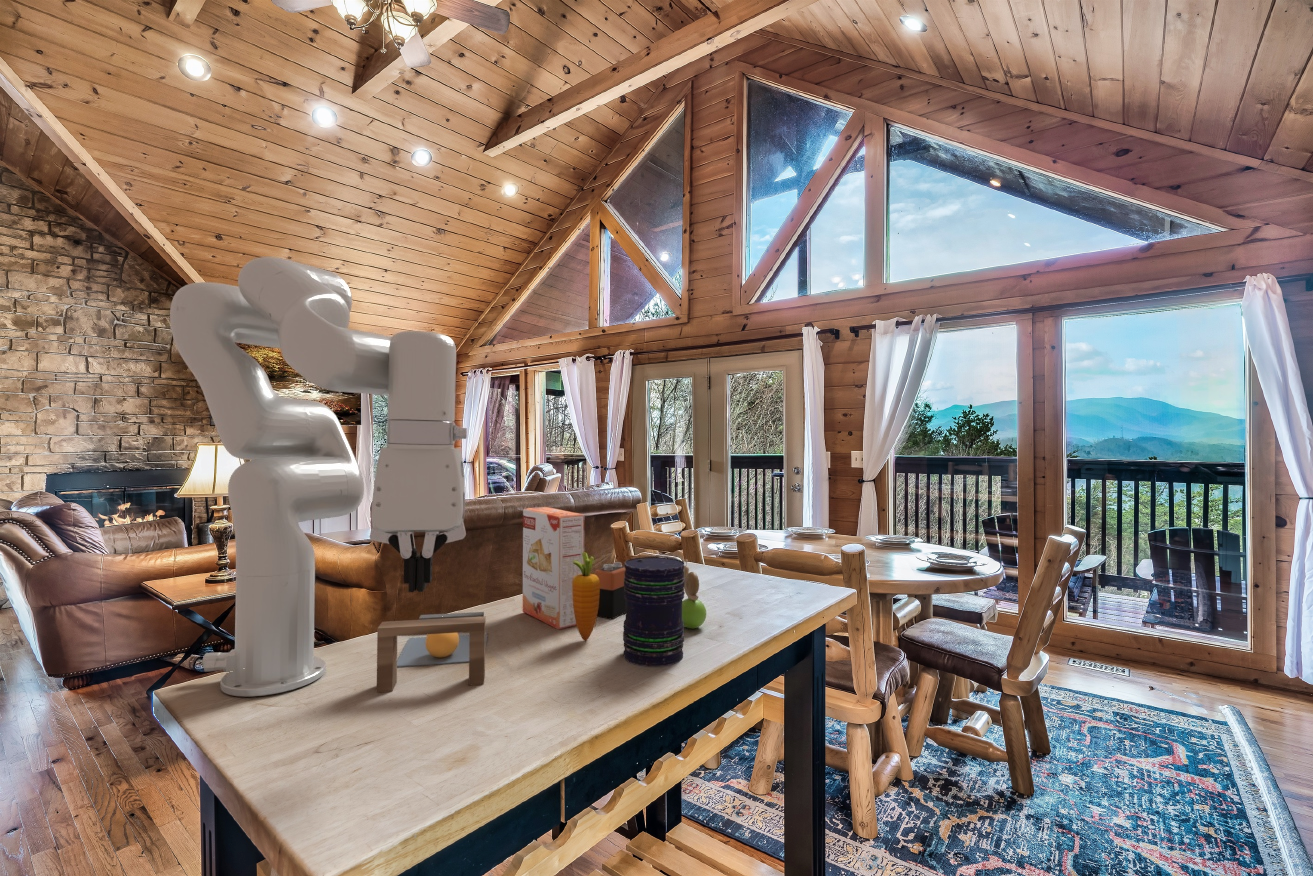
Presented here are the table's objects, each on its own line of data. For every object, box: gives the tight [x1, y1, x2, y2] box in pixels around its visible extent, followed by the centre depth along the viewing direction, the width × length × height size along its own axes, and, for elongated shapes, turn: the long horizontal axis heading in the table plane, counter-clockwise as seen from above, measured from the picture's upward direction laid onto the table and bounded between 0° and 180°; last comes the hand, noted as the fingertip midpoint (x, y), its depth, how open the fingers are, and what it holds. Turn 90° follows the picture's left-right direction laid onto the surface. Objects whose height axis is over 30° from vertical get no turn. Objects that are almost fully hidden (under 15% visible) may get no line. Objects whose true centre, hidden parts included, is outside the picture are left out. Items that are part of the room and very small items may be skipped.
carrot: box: [572, 551, 600, 642], centre depth 103 cm, size 5×5×15 cm
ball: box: [425, 633, 459, 658], centre depth 95 cm, size 5×5×5 cm
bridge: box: [376, 615, 487, 693], centre depth 84 cm, size 3×14×9 cm, turn 103°
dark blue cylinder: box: [622, 556, 686, 668], centre depth 97 cm, size 10×10×15 cm
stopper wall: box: [418, 611, 485, 620], centre depth 109 cm, size 11×2×2 cm, turn 103°
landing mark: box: [397, 632, 489, 668], centre depth 98 cm, size 13×13×1 cm
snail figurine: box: [681, 559, 707, 629], centre depth 112 cm, size 5×6×12 cm
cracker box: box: [522, 506, 585, 630], centre depth 116 cm, size 14×6×21 cm, turn 40°
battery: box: [594, 561, 626, 620], centre depth 119 cm, size 4×7×10 cm, turn 151°
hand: (417, 589), depth 72 cm, fingers closed
